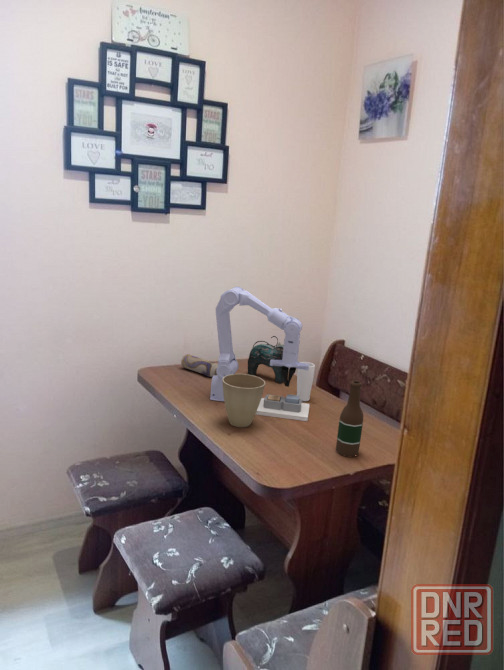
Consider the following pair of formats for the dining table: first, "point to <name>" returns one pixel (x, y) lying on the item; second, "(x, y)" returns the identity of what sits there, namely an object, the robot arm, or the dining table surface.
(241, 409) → the plant pot
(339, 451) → the beer bottle
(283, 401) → the key panel
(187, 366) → the decorative bottle
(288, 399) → the key slate
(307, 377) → the drinking glass
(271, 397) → the key oak
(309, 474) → the dining table surface
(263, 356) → the ceramic cat
